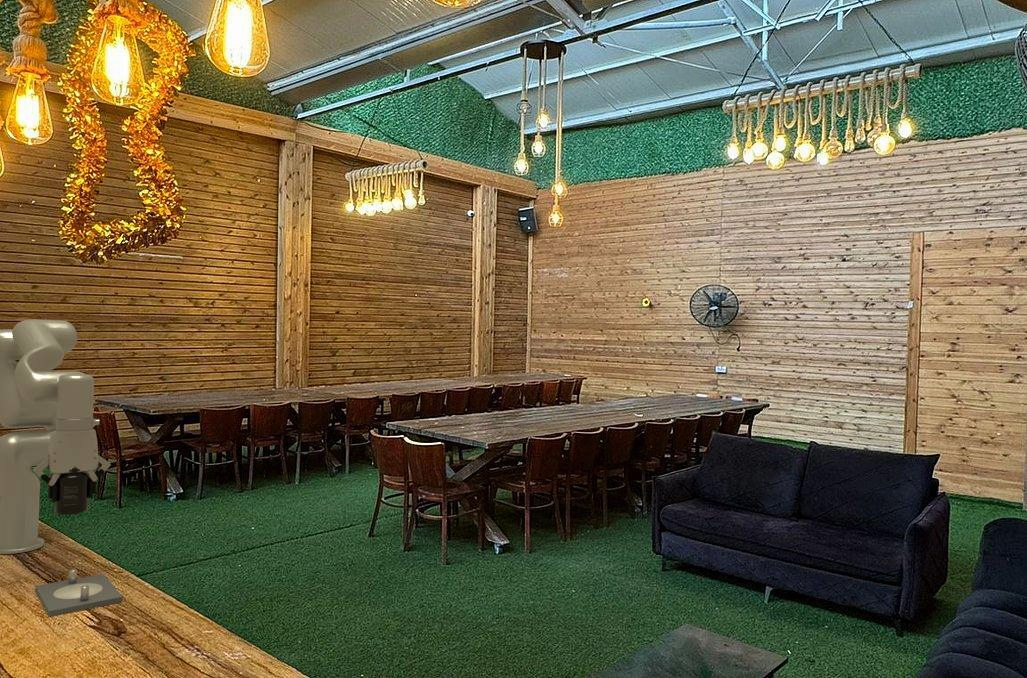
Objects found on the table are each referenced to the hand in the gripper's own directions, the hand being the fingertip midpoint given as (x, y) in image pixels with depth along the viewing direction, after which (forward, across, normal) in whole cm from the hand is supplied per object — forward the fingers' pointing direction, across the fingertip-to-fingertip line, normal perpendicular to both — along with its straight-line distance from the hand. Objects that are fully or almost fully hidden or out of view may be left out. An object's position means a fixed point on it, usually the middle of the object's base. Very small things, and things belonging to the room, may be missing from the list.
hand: (71, 498), depth 169 cm
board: (+20, 0, +11) cm, 23 cm away
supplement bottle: (+4, 0, 0) cm, 4 cm away
